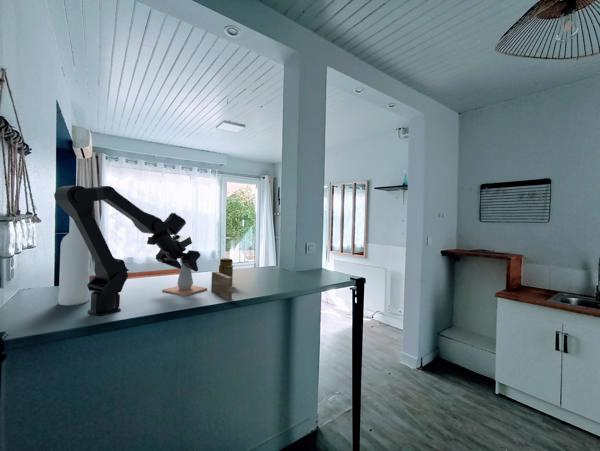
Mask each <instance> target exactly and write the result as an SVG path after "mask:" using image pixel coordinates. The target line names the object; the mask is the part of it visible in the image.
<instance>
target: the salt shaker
mask: <svg viewBox="0 0 600 451" xmlns="http://www.w3.org/2000/svg"><path fill="white" fill-rule="evenodd" d="M179 261H180V262H179V263H180V265H181V269H179V270H180V271H179V275H178V279H177V286H178V287H179V289H180V290H189V289H191V286H192V285H194V280H193V275H192V270H191V269H189V268H187V267H185V265H183V263H182V259H179Z"/></svg>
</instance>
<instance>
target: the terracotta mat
mask: <svg viewBox="0 0 600 451" xmlns="http://www.w3.org/2000/svg"><path fill="white" fill-rule="evenodd" d="M161 291H162V293H166V294H171V295H175V296H180V297H187V296H191V295H194V294H198V293H201V292H205V291H208V288H207V287H202V286H200V285H199V286H198V285H194V284H192V286H191V289H189V290H180V289H179V287H178V285H177V286H173V287H168V288H164V289H162V290H161Z"/></svg>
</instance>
